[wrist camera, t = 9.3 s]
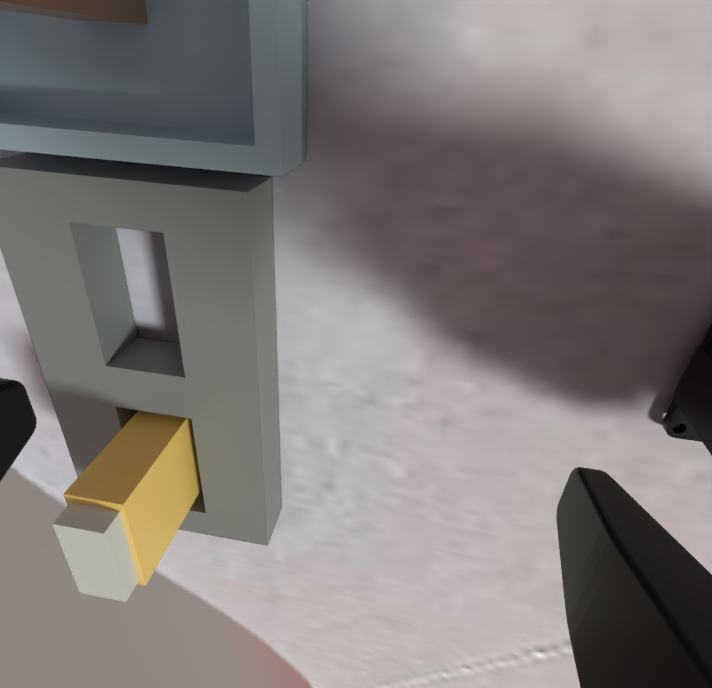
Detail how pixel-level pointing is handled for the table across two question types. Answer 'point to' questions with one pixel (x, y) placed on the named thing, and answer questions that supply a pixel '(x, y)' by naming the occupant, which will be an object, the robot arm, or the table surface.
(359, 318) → the table surface
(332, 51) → the table surface
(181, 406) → the block
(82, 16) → the block
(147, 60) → the parts tray
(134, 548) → the block
